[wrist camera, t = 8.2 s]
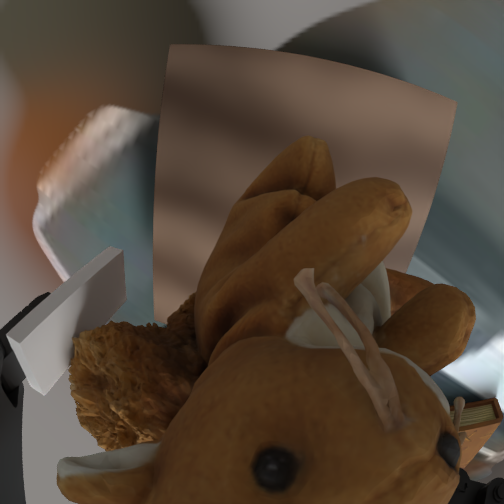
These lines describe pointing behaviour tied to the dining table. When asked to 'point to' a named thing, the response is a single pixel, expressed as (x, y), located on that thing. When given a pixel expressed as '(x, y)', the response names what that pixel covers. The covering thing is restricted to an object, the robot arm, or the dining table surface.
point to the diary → (477, 425)
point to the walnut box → (278, 145)
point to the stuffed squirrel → (281, 362)
